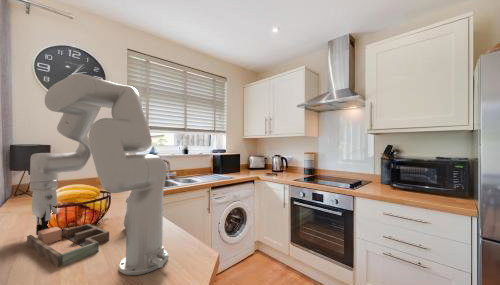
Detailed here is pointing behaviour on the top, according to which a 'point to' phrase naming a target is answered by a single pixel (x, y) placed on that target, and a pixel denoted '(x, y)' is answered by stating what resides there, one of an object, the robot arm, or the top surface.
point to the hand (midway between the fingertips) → (42, 234)
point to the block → (50, 235)
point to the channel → (80, 235)
